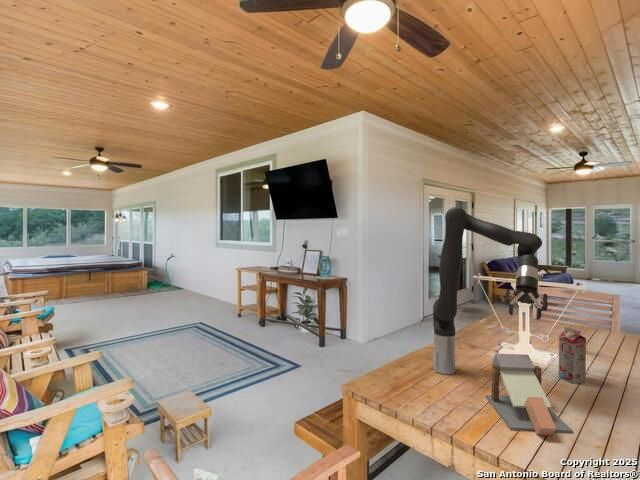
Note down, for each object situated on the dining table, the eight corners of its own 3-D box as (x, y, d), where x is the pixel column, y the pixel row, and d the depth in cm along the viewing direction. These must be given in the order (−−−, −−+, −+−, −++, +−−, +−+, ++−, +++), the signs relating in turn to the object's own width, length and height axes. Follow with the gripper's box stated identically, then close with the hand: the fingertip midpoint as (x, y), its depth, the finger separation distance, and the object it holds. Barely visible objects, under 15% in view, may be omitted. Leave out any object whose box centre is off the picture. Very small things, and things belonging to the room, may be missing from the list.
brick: (524, 403, 117) (536, 434, 109) (528, 396, 115) (541, 428, 107) (538, 404, 117) (551, 435, 109) (542, 397, 114) (556, 428, 106)
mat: (510, 429, 112) (510, 427, 112) (485, 396, 134) (485, 394, 134) (573, 433, 110) (573, 430, 110) (537, 399, 132) (537, 396, 132)
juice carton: (573, 383, 144) (574, 332, 143) (558, 377, 150) (559, 327, 150) (585, 381, 146) (586, 330, 145) (570, 375, 152) (571, 326, 152)
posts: (493, 403, 128) (494, 366, 128) (491, 400, 131) (491, 364, 130) (541, 405, 127) (541, 368, 126) (537, 402, 129) (538, 365, 129)
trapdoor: (492, 362, 135) (495, 353, 133) (524, 363, 134) (528, 354, 131) (512, 410, 119) (515, 402, 116) (548, 412, 117) (553, 403, 115)
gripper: (507, 272, 138) (503, 309, 131) (549, 277, 131) (548, 316, 124) (506, 281, 144) (503, 317, 137) (547, 286, 137) (545, 324, 130)
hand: (524, 317), depth 130 cm, fingers open, 8 cm apart
